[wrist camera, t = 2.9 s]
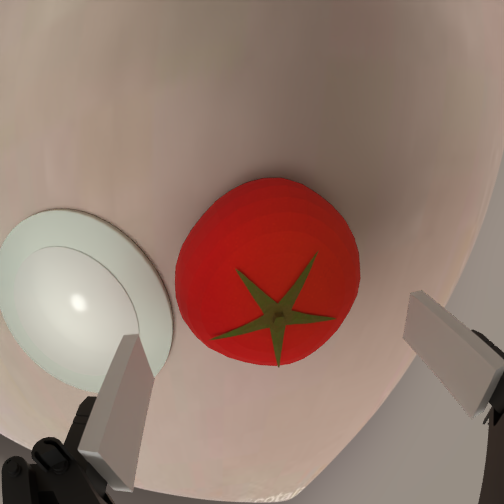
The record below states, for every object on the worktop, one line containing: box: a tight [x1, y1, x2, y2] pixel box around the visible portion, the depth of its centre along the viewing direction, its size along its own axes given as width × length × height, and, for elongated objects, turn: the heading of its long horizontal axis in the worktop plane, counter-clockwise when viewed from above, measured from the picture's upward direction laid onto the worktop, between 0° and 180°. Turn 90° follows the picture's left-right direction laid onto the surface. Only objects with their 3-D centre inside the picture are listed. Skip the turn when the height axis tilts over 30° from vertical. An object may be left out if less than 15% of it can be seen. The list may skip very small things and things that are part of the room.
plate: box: [0, 209, 173, 393], centre depth 24 cm, size 20×20×1 cm
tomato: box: [175, 178, 360, 367], centre depth 19 cm, size 11×12×10 cm
